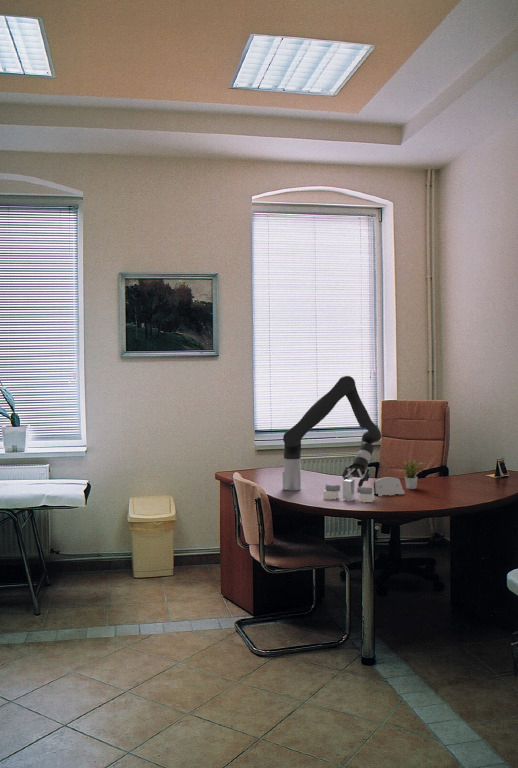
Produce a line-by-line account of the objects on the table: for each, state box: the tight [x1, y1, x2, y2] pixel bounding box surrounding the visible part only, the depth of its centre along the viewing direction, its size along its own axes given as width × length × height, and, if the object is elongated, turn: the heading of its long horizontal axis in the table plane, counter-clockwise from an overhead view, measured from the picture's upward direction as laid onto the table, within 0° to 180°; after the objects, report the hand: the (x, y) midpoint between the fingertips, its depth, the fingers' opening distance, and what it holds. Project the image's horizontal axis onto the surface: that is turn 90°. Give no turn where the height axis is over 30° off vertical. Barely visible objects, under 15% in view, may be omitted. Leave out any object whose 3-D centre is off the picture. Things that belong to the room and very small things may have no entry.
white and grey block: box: [356, 486, 375, 503], centre depth 339 cm, size 8×6×7 cm
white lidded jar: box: [323, 484, 341, 500], centre depth 347 cm, size 8×6×7 cm
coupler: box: [342, 479, 355, 501], centre depth 343 cm, size 4×4×10 cm
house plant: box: [399, 458, 425, 490], centre depth 371 cm, size 14×14×16 cm
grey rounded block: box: [372, 476, 406, 497], centre depth 357 cm, size 17×5×10 cm, turn 112°
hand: (351, 485), depth 345 cm, fingers open, 8 cm apart
